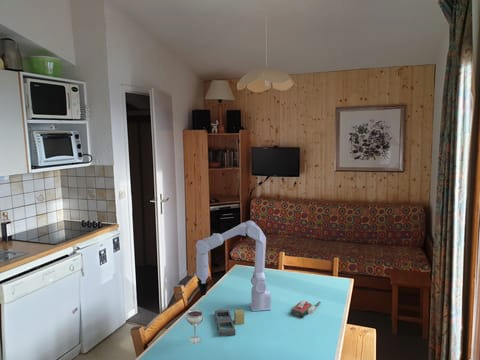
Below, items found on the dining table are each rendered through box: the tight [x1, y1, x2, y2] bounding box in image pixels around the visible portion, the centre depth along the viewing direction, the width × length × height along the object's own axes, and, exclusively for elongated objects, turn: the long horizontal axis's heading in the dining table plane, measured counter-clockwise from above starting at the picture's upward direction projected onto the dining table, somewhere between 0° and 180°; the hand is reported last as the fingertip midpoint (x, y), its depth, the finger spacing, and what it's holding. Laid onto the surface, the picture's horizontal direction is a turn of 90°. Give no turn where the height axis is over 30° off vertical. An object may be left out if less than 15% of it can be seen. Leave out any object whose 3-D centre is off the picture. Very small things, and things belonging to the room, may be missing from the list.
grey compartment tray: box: [214, 309, 236, 337], centre depth 172 cm, size 7×20×2 cm, turn 10°
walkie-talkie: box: [290, 300, 322, 318], centre depth 187 cm, size 9×4×20 cm
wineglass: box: [186, 308, 204, 344], centre depth 158 cm, size 7×7×12 cm
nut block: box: [233, 309, 245, 325], centre depth 174 cm, size 4×4×5 cm
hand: (202, 291), depth 183 cm, fingers open, 7 cm apart
